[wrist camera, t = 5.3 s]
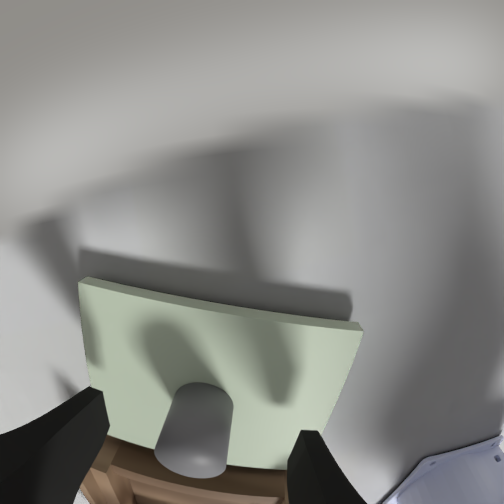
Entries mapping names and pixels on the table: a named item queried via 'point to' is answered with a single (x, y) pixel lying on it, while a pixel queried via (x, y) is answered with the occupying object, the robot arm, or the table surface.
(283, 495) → the walnut box
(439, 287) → the table surface
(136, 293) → the cover plate
